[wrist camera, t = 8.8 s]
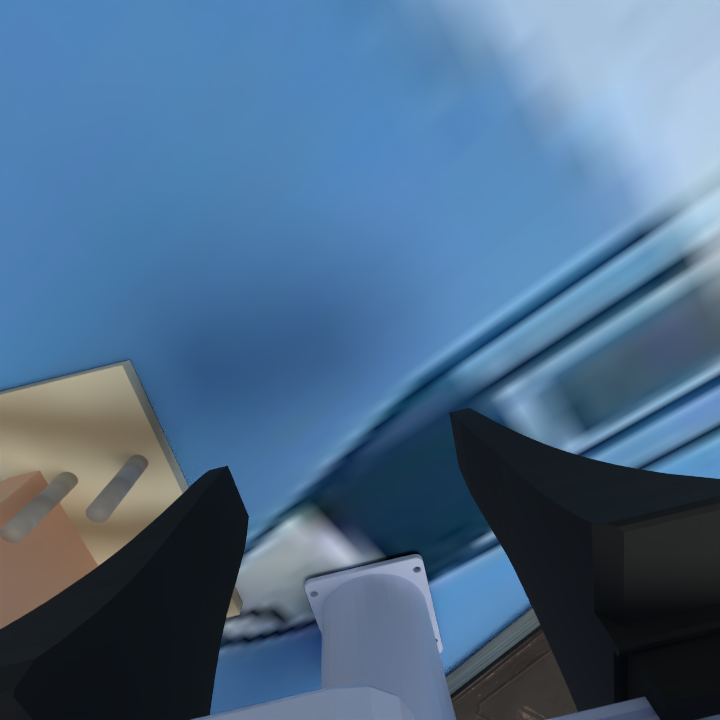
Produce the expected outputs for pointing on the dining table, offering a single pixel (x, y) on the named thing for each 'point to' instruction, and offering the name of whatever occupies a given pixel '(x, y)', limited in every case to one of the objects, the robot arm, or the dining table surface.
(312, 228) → the dining table surface
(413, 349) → the dining table surface
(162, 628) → the robot arm
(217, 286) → the dining table surface
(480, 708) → the hardcover book
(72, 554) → the brown rectangular block
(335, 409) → the dining table surface
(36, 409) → the dish rack
